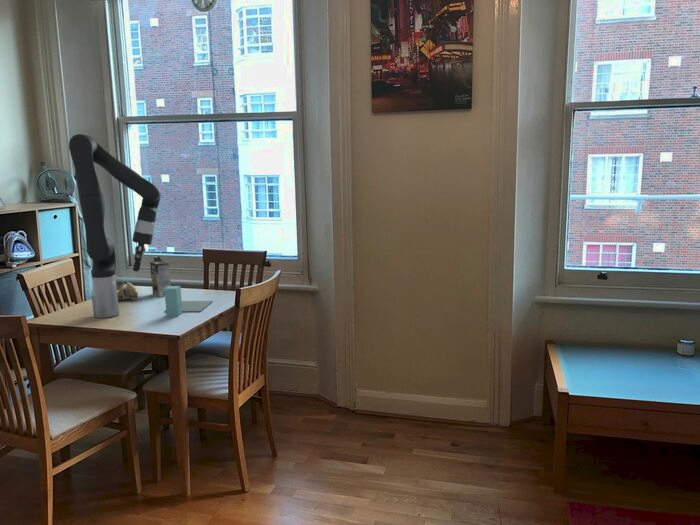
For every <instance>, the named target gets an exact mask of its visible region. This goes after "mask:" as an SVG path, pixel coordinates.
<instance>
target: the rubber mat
mask: <svg viewBox="0 0 700 525" xmlns="http://www.w3.org/2000/svg"><path fill="white" fill-rule="evenodd" d="M181 301H182V313H201V312H203V311H204V310H205V309H206V308H207V307H208V306H210V305H211V304H212V303H214V300H186V301H185V300H181ZM163 312H164V313H166V309H165V310H164V311H163Z"/></svg>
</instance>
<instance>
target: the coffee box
mask: <svg viewBox="0 0 700 525" xmlns="http://www.w3.org/2000/svg"><path fill="white" fill-rule="evenodd" d="M149 266H150V276H151V287H152V295H155V296H157V297H159V298H161V297H165V290H164V289H165V288H166V287H168V286H172V285H171V272H170V270H171V269H170V262H166V261H164V260H158V261H151V262H149Z"/></svg>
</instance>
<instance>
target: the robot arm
mask: <svg viewBox="0 0 700 525" xmlns="http://www.w3.org/2000/svg"><path fill="white" fill-rule="evenodd" d="M68 150H69V152H70V156H71V159H72V160H71V161H72V162H73V168H74V172H75V179H76V186H77V187H76V188H77V193H78V194H77V195H78V199H79V200H78V201H79V205H80V210H81V216H82V220H83V225H84V229H85V246H86V247H85V248H86V254H87V255H88V257H89V258H90V259H91V260H92V267H91V271H90V273H91V274H90V275H91V281H92V291H93V294H91V303H92V312H93V313H92V314H93V318H98V319H108V318H113V317H117V316H119V315H120V308H119V300H118V295H117V293H118V286H117V276H116V268H117V267H116V266H117V264H116V263H117V262H116V260H117V259H116V248H115V245H114V242H113V241H112V240H111V239H110V238H107V236H106V232H105V215H106V203H105V196H104V191H103V187H102V185H101V182H100V180H99V177H98V175H97V173H96V170H95V165H94V164H97V165H98V166H100V167H101V168H103V169H104V170H105V171H106V172H107V173H108V174H109V175H110V176H112V177H113V178H114V179H115V180H117V181H118V182H119V183H121V184H122V185H124V186H125V187H127V188H128V189H129V190H132V191H133V192H135V193H136V194H137V195H139V196H140V197H141V198H142V200H141V206H140V207H139V209H138V212H137V213H138V214H137V219H136V222H135V225H134V230H133V234H132V242H133V243H137V246H135V248H134V259H133V260H134V261H133V262H134V263H133V268H132V269H133V271H134V272H139V271H140V269H141V264H142V261H143V259H144V256H145V254H146V249H147V248H145V245H149V246H150V245H152V242H153V237H154V231H155V223H156V218H157V211H158V207H159V205H160V201H161V195H162V194H161V193H162V192H161V190H160V188H159V187H157V185H155V184H153V183H152V182H151V181H149V180H148V179H145V178H144V177H142V176H141V175H140V174H139V173H137V172H136V171H134V170H133V169H132V168H130V166H127V165H126V164H125V163H124V162H121V160H118V159H117V158H116V157H114V156H113V155H112V154H111V153H109V152H108V151H107V150H105V148H103V147H102V145H100V144H99V143H98V142H97V141H96V140H95V139H94V138H93V137H92V136H91V135H88V134H83V133H82V134H81V133H80V134H79V133H78V134H75V135H72V137H71V138H70V140H69V142H68Z"/></svg>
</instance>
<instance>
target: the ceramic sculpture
mask: <svg viewBox="0 0 700 525" xmlns="http://www.w3.org/2000/svg"><path fill="white" fill-rule="evenodd" d="M136 289H137V288H136V287H135V285H134V284H132V282H129V281H124V282H123V283H122V284H121V286H120V287H119V288H118V289H117V295H118V301H120V300H124V301H125V300H127V301H128V300H130V299H132V300H135V299H137V298H138V297H139V296H138V295H139V293H138V292H137V291H136Z"/></svg>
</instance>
